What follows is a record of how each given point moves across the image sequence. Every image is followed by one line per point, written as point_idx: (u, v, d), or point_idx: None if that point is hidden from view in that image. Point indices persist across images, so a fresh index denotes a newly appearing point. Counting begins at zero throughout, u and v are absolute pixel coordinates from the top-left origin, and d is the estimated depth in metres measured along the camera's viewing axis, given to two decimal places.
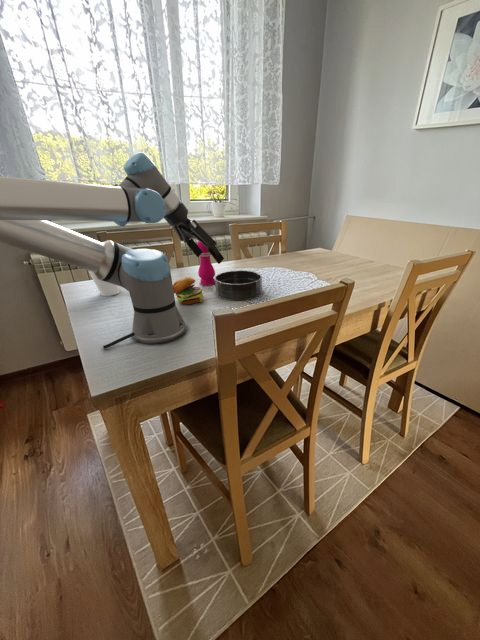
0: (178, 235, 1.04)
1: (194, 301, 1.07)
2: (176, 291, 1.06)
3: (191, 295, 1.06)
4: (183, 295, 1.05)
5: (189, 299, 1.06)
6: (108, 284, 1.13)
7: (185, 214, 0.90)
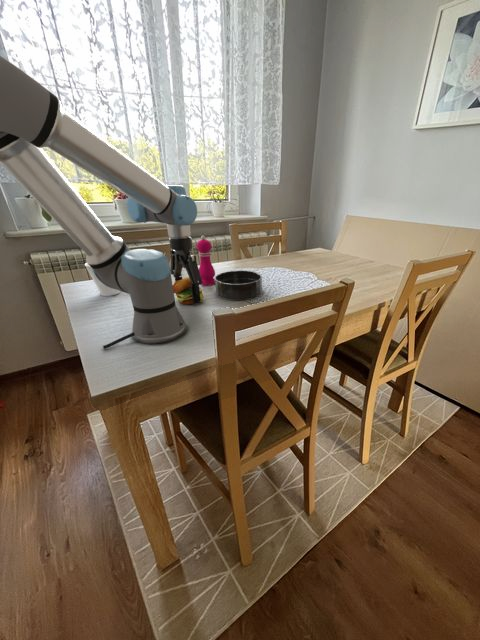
0: (171, 267, 1.10)
1: None
2: (176, 291, 1.06)
3: (191, 295, 1.06)
4: (183, 295, 1.05)
5: (189, 299, 1.06)
6: None
7: (189, 247, 0.99)
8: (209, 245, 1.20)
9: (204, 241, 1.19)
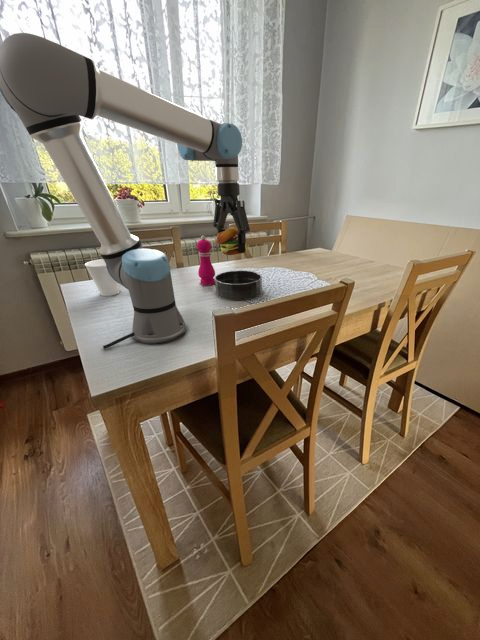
0: (214, 218, 1.08)
1: None
2: (221, 241, 1.04)
3: (236, 245, 1.04)
4: (229, 244, 1.04)
5: (234, 249, 1.05)
6: (108, 284, 1.13)
7: (237, 193, 0.98)
8: (209, 245, 1.20)
9: (204, 241, 1.19)
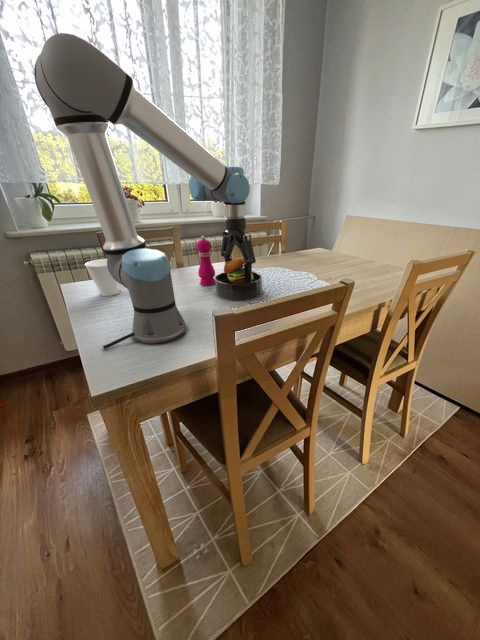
0: (222, 248, 1.15)
1: None
2: (229, 270, 1.10)
3: (243, 274, 1.11)
4: (236, 274, 1.10)
5: (241, 278, 1.11)
6: (108, 284, 1.13)
7: (244, 227, 1.04)
8: (209, 245, 1.20)
9: (204, 241, 1.19)
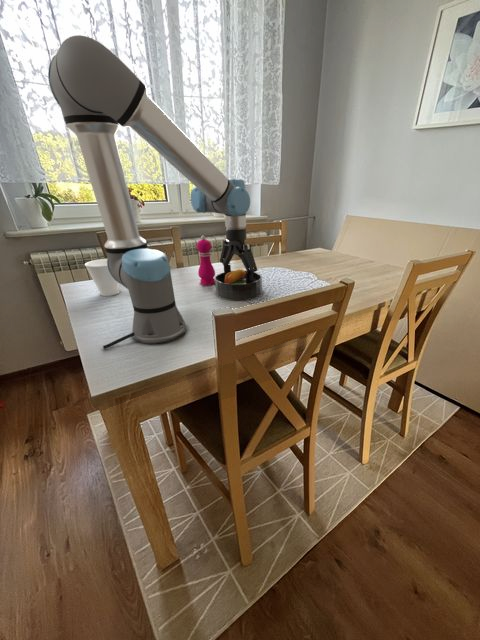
0: (221, 256, 1.16)
1: None
2: (229, 282, 1.13)
3: None
4: None
5: None
6: (108, 284, 1.13)
7: (244, 237, 1.06)
8: (209, 245, 1.20)
9: (204, 241, 1.19)
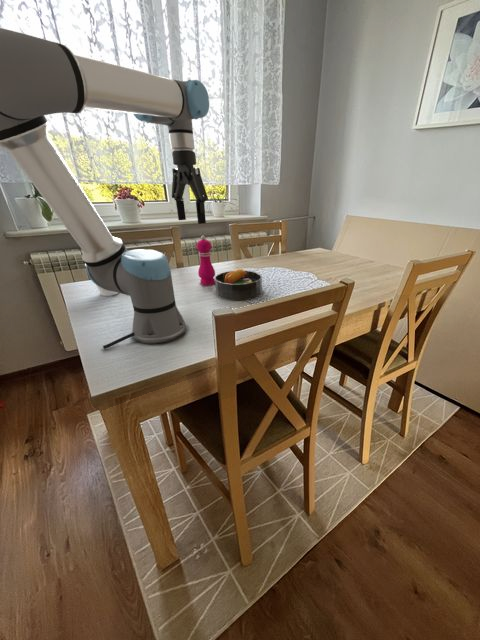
0: (172, 189, 1.05)
1: None
2: (229, 282, 1.13)
3: None
4: None
5: None
6: None
7: (193, 161, 0.94)
8: (209, 245, 1.20)
9: (204, 241, 1.19)
